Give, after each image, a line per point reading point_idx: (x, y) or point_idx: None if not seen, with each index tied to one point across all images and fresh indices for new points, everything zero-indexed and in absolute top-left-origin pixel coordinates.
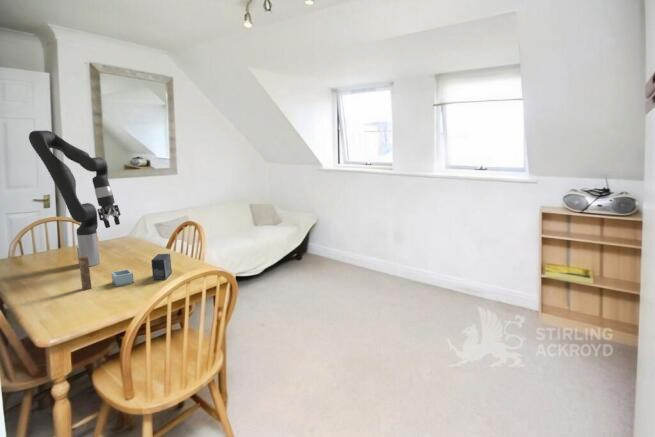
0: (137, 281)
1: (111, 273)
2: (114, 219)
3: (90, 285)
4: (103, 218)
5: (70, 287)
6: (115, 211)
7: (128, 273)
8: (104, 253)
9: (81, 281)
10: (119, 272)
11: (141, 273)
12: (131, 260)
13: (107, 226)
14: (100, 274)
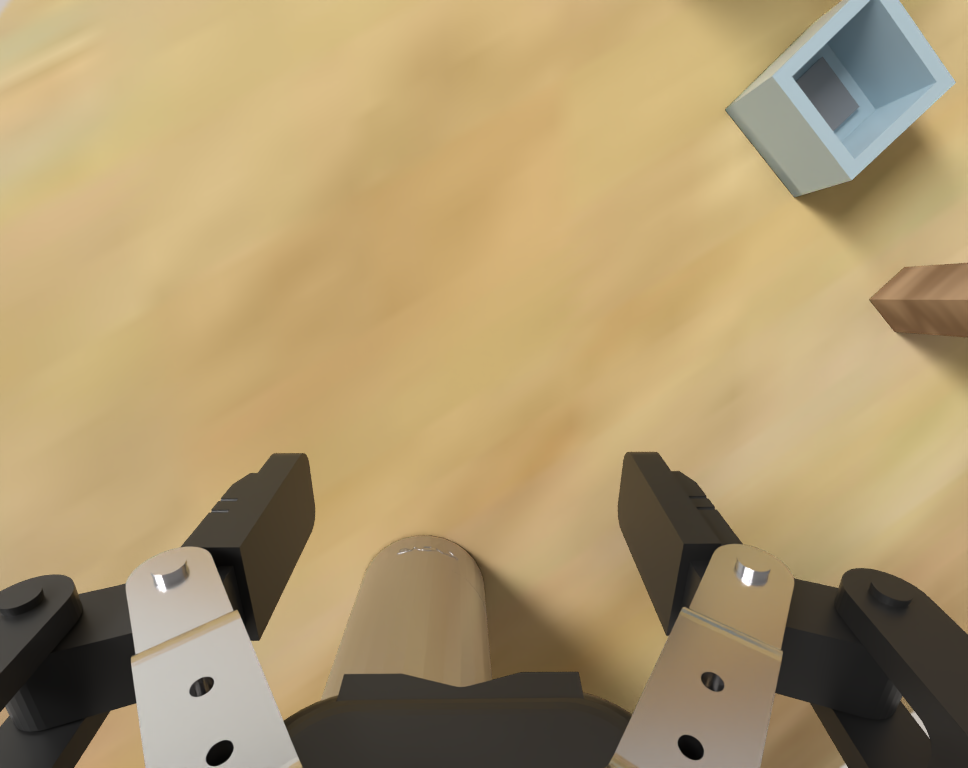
0: (778, 13)
1: (845, 181)
2: (272, 603)
3: (927, 269)
4: (926, 618)
5: (876, 413)
6: (199, 719)
7: (886, 8)
8: None
9: (938, 334)
10: (822, 128)
11: (601, 80)
12: (292, 347)
13: (683, 482)
14: (635, 382)
